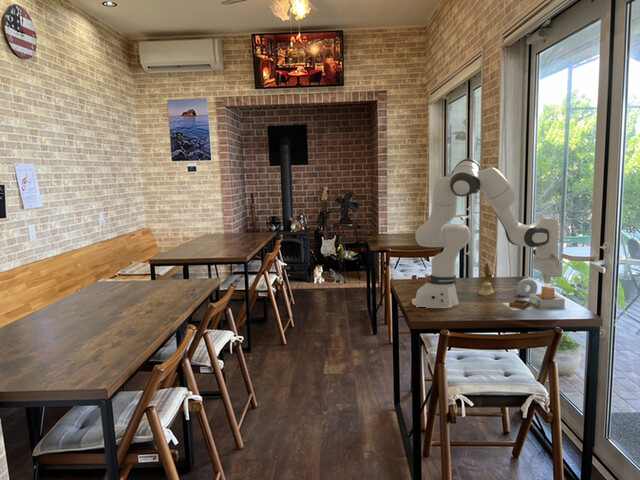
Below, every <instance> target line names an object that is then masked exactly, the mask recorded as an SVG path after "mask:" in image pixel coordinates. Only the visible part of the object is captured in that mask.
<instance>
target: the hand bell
mask: <svg viewBox="0 0 640 480" xmlns="http://www.w3.org/2000/svg"><path fill="white" fill-rule="evenodd" d="M483 273H484V282H483V283H482V285H481V289H480V290H479V291H478V295H480V296H483V297H484V296H485V297H486V296H488V295H492V294H493V293H495V291H494V290H493V287H492V283H491V282H490V280H489V275H490V274H489V273H490V267H489V263H485V264H484V267H483Z"/></svg>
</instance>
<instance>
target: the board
mask: <svg viewBox="0 0 640 480" xmlns="http://www.w3.org/2000/svg"><path fill="white" fill-rule="evenodd" d="M501 304H502V305H503V306H505V307H506V308H508V309H509V310H511V311H512V312H513V311H529V310H531V311H533V310H535V311H536V310H540V309H539V308H537V307H536V306H534V305H532V304H531V303H530V306H529V307H527V308H525V309H521V308H515V307H509V302H502V303H501ZM559 309H561V310H562V309H563V308H551V309H550V310H559Z"/></svg>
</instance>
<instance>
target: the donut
mask: <svg viewBox="0 0 640 480" xmlns="http://www.w3.org/2000/svg"><path fill="white" fill-rule="evenodd" d="M516 286H517V287H516V290H517V291H516V292H517V294H518V295H519V296H520V297H529V294H537V291H538V284H537V282H536V281H535V280H534V279H532V278H523V279H521V280H520V281H518V284H517V285H516ZM527 286H529V289H528V290H527V291H526V290H525V288H526V287H527Z"/></svg>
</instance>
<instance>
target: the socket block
mask: <svg viewBox="0 0 640 480" xmlns="http://www.w3.org/2000/svg"><path fill="white" fill-rule="evenodd" d="M528 301H530V303H531V304H532V305H534V306H536V307H537V308H539V309H538V310H552V309H551V308H562V309H566V307H565V306H566V305H565V301H566V299H565V298H564V297H562V296H559V295H557V294H555V293H554V298H551V299H542V298H541V293H540V292H539V293H536V294H529V296H528Z"/></svg>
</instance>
